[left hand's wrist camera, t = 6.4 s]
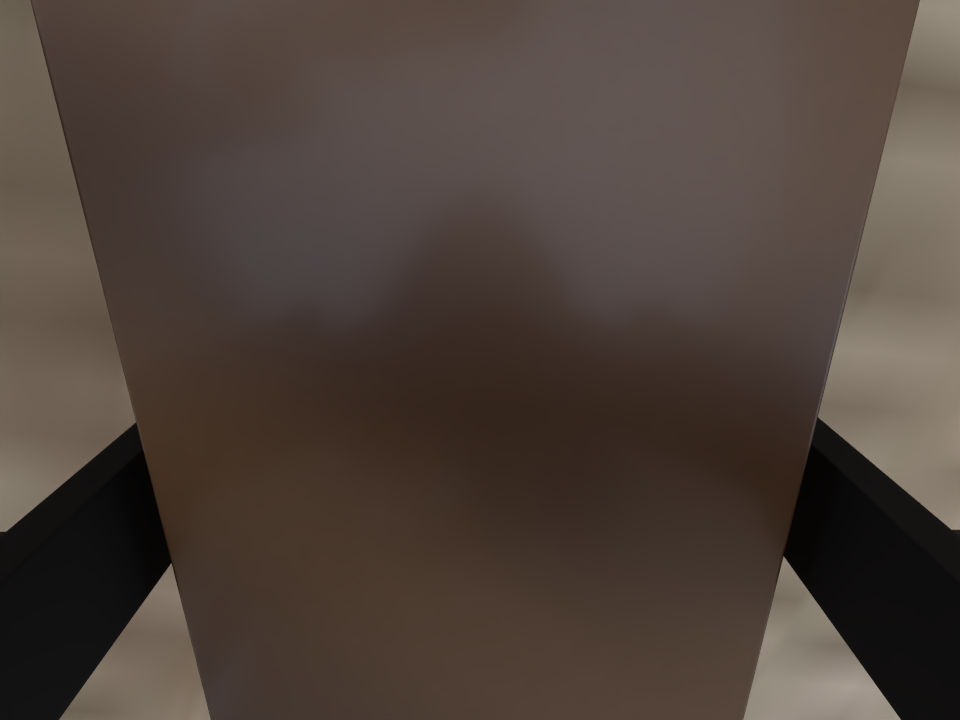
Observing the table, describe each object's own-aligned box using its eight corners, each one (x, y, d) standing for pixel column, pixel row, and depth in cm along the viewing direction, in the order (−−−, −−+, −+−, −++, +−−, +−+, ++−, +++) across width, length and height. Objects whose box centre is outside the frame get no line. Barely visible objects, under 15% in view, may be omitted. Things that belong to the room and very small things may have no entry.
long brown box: (284, -117, 15) (-144, -679, 5) (668, -117, 15) (1088, -674, 5) (341, 443, 22) (212, 734, 11) (613, 443, 22) (741, 732, 11)
